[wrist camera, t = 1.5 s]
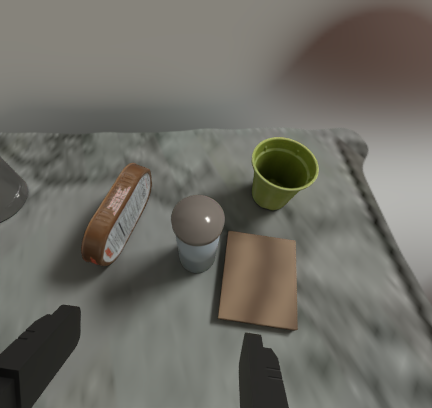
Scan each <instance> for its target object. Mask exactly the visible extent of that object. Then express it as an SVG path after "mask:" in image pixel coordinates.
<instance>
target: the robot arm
mask: <svg viewBox="0 0 432 408" xmlns="http://www.w3.org/2000/svg"><path fill="white" fill-rule="evenodd" d="M27 195H28V187H27V184H26V182H25V181H24V180H23V179H22V178H21V177H20V176H19V175H18V174H17V173H16V172H15V171H14V170H13V169H12V168H11V167H10V166H9V165H8V164H7V163H6V162H5V161H4V160H3V159H2V158H1V157H0V222H2V221H4V220H6V219H8V218H10V217H11V216H12V215H14V214H15V213H16V212H17V211H18V210H19V209H20V208H21V207H22V206H23V204H24V203H25V201H26V199H27ZM80 320H81V311H80V307H77V306H70V305H61V306H60V307H59V308H58V309H57V310H56V311H55V312H54V313H53V314H52V315H50V314H47V315H45V316H43V317H42V318H40V319H38V320H36V321H35V322H34V323H33V324H32V325H31V326H30V327H28V328H27V329H26V331H25V332H23V333H22V334H21V335H20V336H19V337H18V339H16V340H15V341H14V342H13V343H12V344H10V345H9V346H8V347H7V348H6V349H5V350H4V351H3V352H2V353H1V354H0V408H32V406H33V405H34V403H35V402H36V401H37V399H38V398H39V397H40V395H41V394H42V393H43V391H44V390H45V388H46V387H47V386H48V384H49V383H50V382H51V380H52V379H53V378H54V376H55V375H56V373H57V372H58V371H59V369H60V368H61V367H62V365H63V364H64V363H65V361H66V360H67V358H68V357H69V356H70V354H71V353H72V352H73V350H74V349H75V347H76V346H77V344H78V341H79V338H80ZM239 391H240V408H289V407H288V402H287V397H286V393H285V388H284V384H283V381H282V375H281V371H280V366H279V361H278V358H277V356H276V355H275V353H274V352H273V350H272V349H271V348H264V347H263V343H262V337H261V335H259V334H252V333H245V335H244V340H243V345H242V350H241V355H240V361H239Z"/></svg>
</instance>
